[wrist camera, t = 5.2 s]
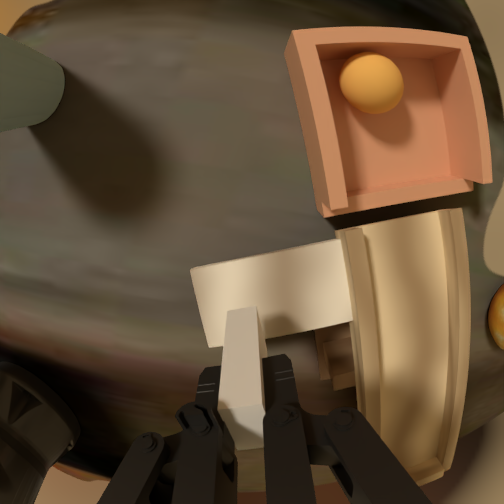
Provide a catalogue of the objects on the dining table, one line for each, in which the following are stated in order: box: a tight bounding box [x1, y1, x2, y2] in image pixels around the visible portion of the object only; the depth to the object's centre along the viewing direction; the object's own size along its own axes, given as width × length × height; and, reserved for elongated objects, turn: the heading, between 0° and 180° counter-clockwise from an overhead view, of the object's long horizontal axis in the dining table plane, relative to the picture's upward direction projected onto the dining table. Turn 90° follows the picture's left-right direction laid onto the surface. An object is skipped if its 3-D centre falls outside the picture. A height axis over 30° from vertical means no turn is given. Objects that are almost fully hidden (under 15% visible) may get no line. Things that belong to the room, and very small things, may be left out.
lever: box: [190, 208, 471, 486], centre depth 17 cm, size 17×22×3 cm
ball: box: [339, 52, 404, 114], centre depth 15 cm, size 4×4×4 cm
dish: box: [284, 27, 492, 218], centre depth 16 cm, size 12×11×4 cm
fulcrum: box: [314, 322, 356, 391], centre depth 22 cm, size 12×7×5 cm, turn 102°
